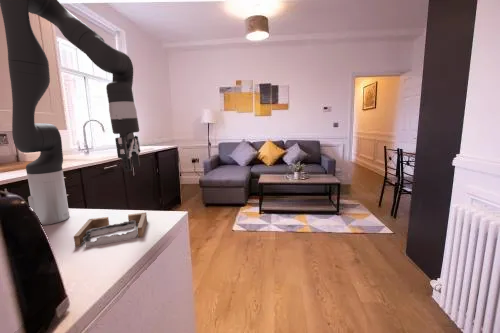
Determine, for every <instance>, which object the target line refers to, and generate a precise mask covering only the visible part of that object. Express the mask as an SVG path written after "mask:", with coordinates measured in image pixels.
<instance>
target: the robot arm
mask: <svg viewBox="0 0 500 333" xmlns="http://www.w3.org/2000/svg"><path fill="white" fill-rule="evenodd" d="M0 11H1V15H2V20H3V25H4V32H5V33H4V34H5V38H6V39H5V40H6V46H7V62H8V63H7V64H8V73H9V79H10V87H11V88H10V89H11V97H12V98H11V100H12V111H11V112H12V116H11V118H12V121H11V131H12V132H11V133H12V134H11V135H12V140H13V144H14V146H15V147H16V149H17V150H18V151H20V152H22V153H25V154H26V153H27V154H29V153H31V154H32V153H40V154H39V157H37V158H36V159H34V161H31V162H29V163H28V164H26V166H25V172H26V176H27V181H28V186H29V193H30V195H29V196H28V197H27V200H28V207H29V206H30V207H31V208H32V209H33V211H34V212H35V213H36V215H37V216H38V218H39V220H40V222H41V224H42V225H41V226H46V225H51V224H52V225H53V224H58V223H61V222H63V221H66V220H68V219H69V218H70V210H69V204H68V197H67V190H66V185H65V184H66V183H65V177H64V170H63V163H64V154H63V144H62V136H61V133H60V131H59V129H58V127H57V126H56V125H55V124H52V123H44V122H43V123H42V122H35V112H36V108H37V106H38V104H39V102H40V101H41V99H42V98H43V96H44V95H45V93H46V91H47V89H48V88H49V85H50V82H51V78H50V64H49V62H50V61H49V59H48V57H47V55H46V53H45V51H44V49H43V47H42V45H41V44H40V42H39V41H38V39H37V37H36V35H35V33H34V31H33V28H32V26H31V24H32V23H31V21H30V19H31V18H30V14H32V15H36V16H38V17H41V18H42V19H45V20H46V21H47V22H49V23H51V24H53V25H54V26H55V27H57V28H58V30H59V31H60V33H61V34H62V36H64V38H65V39H66V40H67V41H69V42H70V44H72V45H73V46H74V47H76V48H77V49H78V50H80V51H81V52H83V53H84V54H85V55H86V56H87V57H88V59H89V60H91V62H92V63H93V64H94V65H95V66H96V67H98V68H99V69H100V70H102V71H103V72H106V73H108V74H112V81H111V82H109V83H107V85H106V87H105V89H106V96H107V101H108V112H109V113H108V114H109V118H110V124H111V130H112V133H113V134H114V135H119V137H115V139H114V140H115V147H116V152H117V158H118V159H120V160H121V161H122V168H123V171H124V172H131V171H133V168H138V167H140V166H141V162H140V156H139V155H140V153H141V148H140V142H139V136H138V135H135V133H139V132H140V126H139V119H138V113H137V109H136V105H135V100H134V99H135V98H134V92H133V89H132V88H133V82H134V65H133V63H132V62H133V61H132V59H131V57H130V56H129V55H128V54H127V53H125V52H123V51H121V50H118V49H116V48H114V47H113V46H111V45H110V44H108V43H106V42H105V40H104V38H103V37H102V36H101V35H100V34H99V33H98V32H96V31H95V30H94V29H92V28H91V27H90V26H88V25H87V24H86V23H85V22H83V21H82V20H81V19H79V18H78V17H76V16H75V15H74V14H73V13H72V12H70V11H69V10H68V9H67V8H66V7H65V6H63V4H62V3H61V2H60V1H59V0H0ZM29 13H30V14H29ZM30 207H29V208H30Z"/></svg>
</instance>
